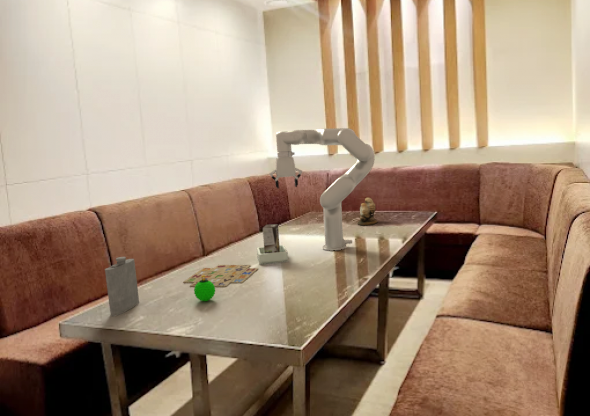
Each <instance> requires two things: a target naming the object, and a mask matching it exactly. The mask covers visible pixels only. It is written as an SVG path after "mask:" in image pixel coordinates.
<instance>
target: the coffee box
mask: <svg viewBox="0 0 590 416" xmlns="http://www.w3.org/2000/svg"><path fill="white" fill-rule="evenodd" d="M279 234H280V232H279V224H277V223H275V224H265V225H264V226H263V227H262V237H263V247H264V253H265V254H266V253H276V252H280V245H281V244H280V235H279Z"/></svg>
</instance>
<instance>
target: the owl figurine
mask: <svg viewBox="0 0 590 416" xmlns="http://www.w3.org/2000/svg"><path fill="white" fill-rule="evenodd" d="M359 212H360V213H359V214H360V216H359V220H358V222H357V226H360V227H369V226H373V225H376V224H378V220H377V219H376V218H374V217H375V212H376V203H375V202H374V200H373V199H372V198H370V197H366V198H365V199H364V202H363V203H360V207H359Z"/></svg>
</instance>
